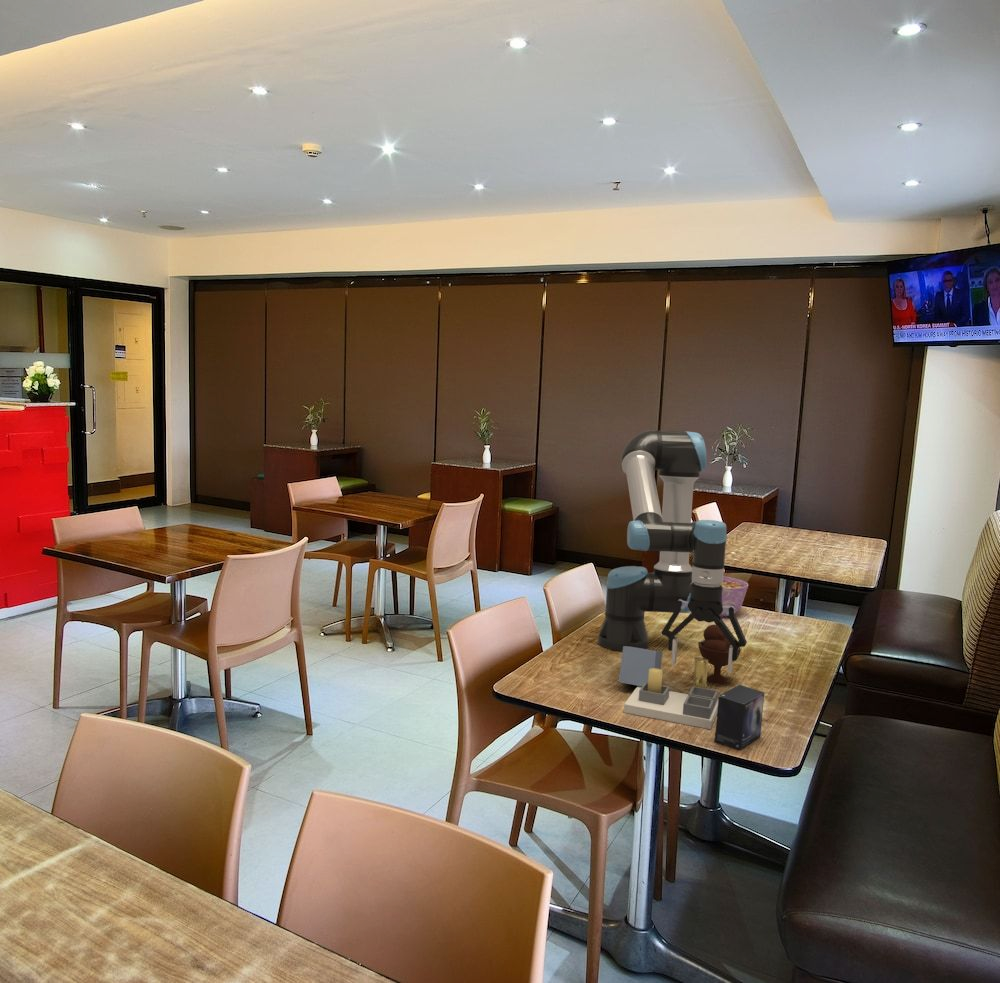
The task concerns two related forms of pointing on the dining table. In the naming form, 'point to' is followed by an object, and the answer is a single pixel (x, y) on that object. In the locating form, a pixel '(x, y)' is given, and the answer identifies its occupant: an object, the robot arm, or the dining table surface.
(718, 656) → the ice cream bowl
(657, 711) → the pin board
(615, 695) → the dining table surface
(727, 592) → the bowl of food
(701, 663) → the brass pin
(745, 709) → the small box
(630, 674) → the cover
